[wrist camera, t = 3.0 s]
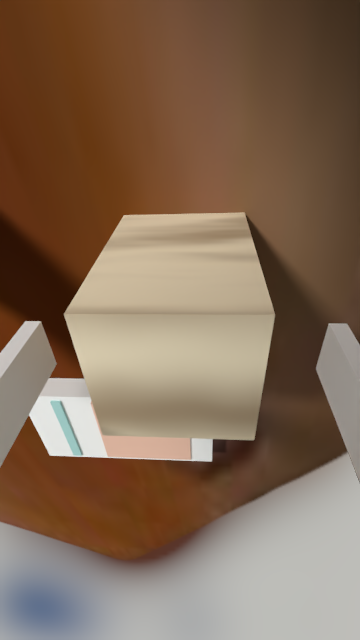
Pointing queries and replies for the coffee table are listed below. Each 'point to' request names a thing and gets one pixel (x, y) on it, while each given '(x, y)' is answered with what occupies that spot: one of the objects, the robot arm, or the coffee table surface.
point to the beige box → (175, 328)
